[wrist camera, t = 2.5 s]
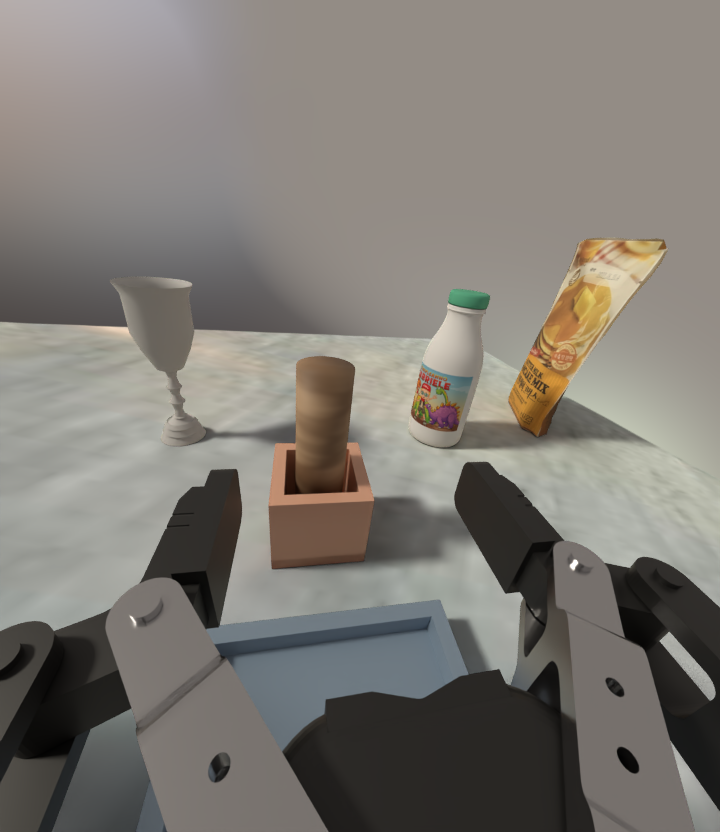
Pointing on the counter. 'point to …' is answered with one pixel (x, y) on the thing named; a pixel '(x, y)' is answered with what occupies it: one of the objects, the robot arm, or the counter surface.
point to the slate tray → (331, 665)
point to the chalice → (163, 340)
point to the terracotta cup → (318, 514)
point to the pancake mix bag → (580, 321)
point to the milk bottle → (450, 372)
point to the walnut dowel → (322, 423)
